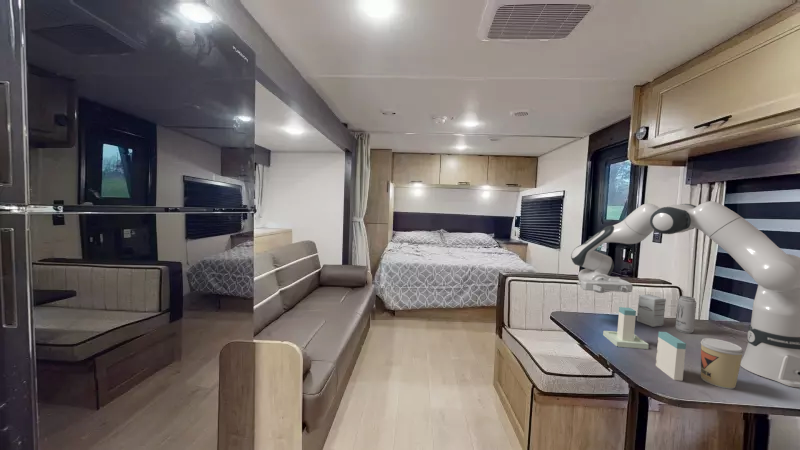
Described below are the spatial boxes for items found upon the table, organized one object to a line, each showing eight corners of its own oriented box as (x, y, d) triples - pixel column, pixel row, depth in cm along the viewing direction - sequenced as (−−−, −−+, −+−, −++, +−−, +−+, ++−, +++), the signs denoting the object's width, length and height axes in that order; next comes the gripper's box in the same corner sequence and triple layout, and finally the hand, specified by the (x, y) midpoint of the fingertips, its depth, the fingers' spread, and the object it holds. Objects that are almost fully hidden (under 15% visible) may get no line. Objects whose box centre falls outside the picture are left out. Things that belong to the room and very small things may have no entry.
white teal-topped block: (627, 337, 131) (630, 307, 130) (633, 341, 127) (636, 311, 126) (617, 336, 132) (619, 307, 131) (622, 340, 128) (624, 310, 127)
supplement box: (636, 321, 154) (638, 294, 153) (647, 319, 156) (649, 293, 155) (652, 327, 147) (654, 299, 146) (664, 325, 149) (666, 298, 148)
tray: (632, 337, 134) (632, 332, 134) (648, 349, 123) (648, 344, 123) (603, 335, 136) (603, 330, 136) (616, 346, 125) (617, 341, 125)
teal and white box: (663, 366, 110) (666, 332, 109) (682, 380, 101) (686, 343, 100) (655, 365, 111) (658, 331, 110) (673, 379, 102) (677, 342, 101)
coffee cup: (691, 371, 107) (695, 335, 107) (728, 377, 104) (732, 340, 103) (706, 386, 99) (710, 347, 98) (746, 393, 95) (751, 353, 95)
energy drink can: (671, 328, 146) (674, 295, 145) (685, 328, 146) (688, 295, 145) (682, 333, 140) (686, 299, 139) (697, 334, 140) (700, 299, 139)
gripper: (575, 275, 155) (588, 281, 141) (622, 277, 152) (640, 283, 138) (575, 288, 155) (587, 296, 141) (622, 290, 152) (639, 298, 138)
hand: (614, 290), depth 140 cm, fingers open, 8 cm apart
